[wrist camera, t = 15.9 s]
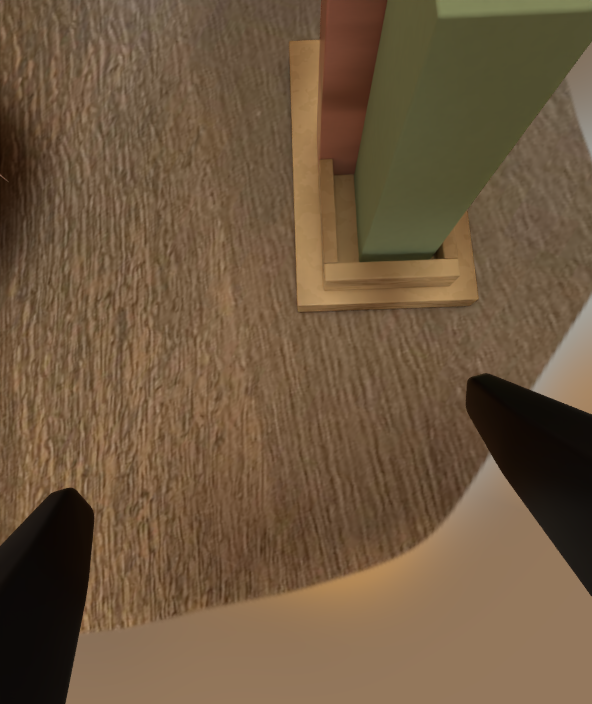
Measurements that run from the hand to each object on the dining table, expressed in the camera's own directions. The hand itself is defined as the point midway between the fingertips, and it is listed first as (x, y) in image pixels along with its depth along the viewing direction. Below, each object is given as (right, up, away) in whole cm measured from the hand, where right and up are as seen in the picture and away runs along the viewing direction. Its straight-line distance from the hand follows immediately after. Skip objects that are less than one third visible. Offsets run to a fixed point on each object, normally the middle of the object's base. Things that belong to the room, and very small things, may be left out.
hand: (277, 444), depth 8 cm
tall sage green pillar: (+6, +10, +13) cm, 18 cm away
